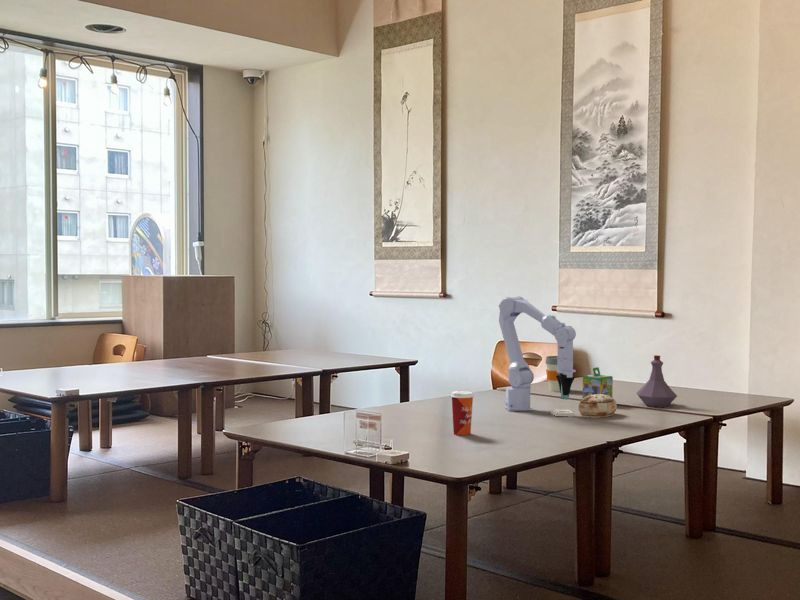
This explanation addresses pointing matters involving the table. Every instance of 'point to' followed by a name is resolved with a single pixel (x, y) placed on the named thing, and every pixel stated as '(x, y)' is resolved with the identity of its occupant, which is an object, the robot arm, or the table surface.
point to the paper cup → (462, 412)
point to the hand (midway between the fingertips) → (564, 394)
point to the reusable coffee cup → (552, 373)
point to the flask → (656, 387)
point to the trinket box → (597, 406)
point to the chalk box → (597, 384)
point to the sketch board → (562, 412)
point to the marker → (564, 395)
